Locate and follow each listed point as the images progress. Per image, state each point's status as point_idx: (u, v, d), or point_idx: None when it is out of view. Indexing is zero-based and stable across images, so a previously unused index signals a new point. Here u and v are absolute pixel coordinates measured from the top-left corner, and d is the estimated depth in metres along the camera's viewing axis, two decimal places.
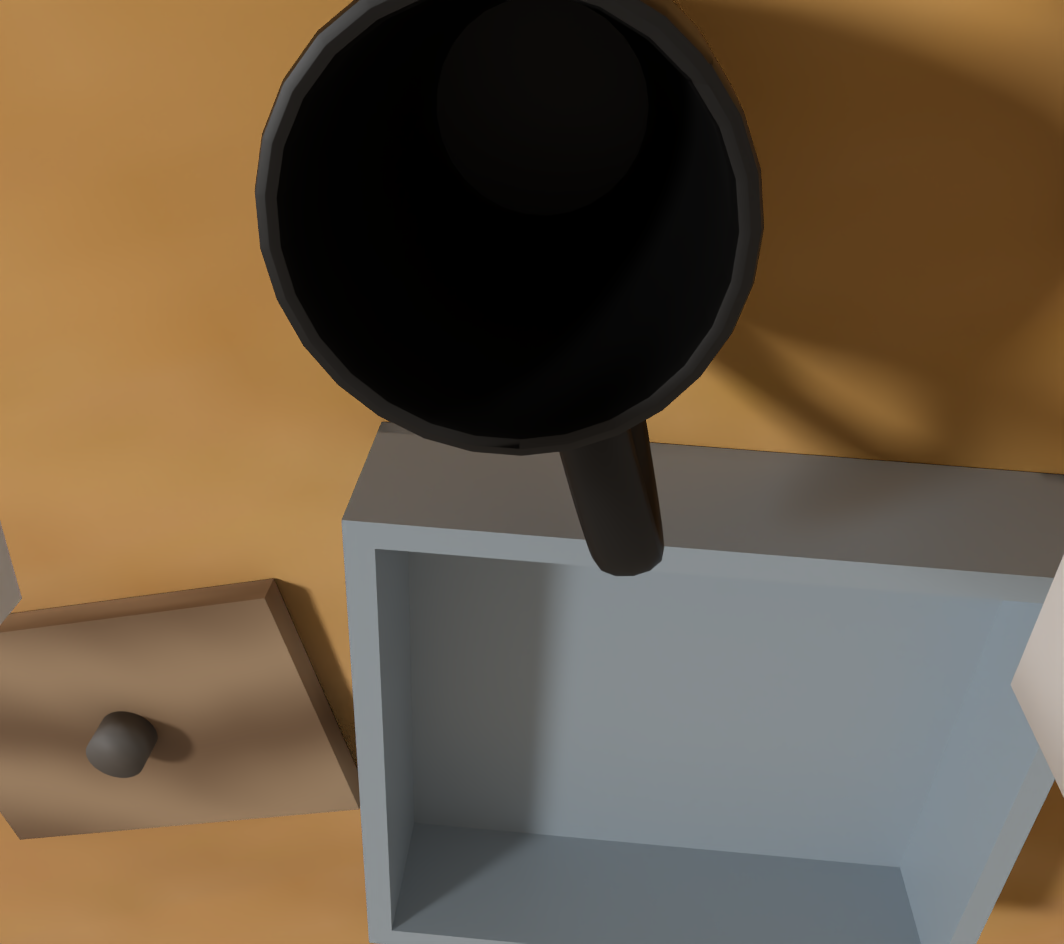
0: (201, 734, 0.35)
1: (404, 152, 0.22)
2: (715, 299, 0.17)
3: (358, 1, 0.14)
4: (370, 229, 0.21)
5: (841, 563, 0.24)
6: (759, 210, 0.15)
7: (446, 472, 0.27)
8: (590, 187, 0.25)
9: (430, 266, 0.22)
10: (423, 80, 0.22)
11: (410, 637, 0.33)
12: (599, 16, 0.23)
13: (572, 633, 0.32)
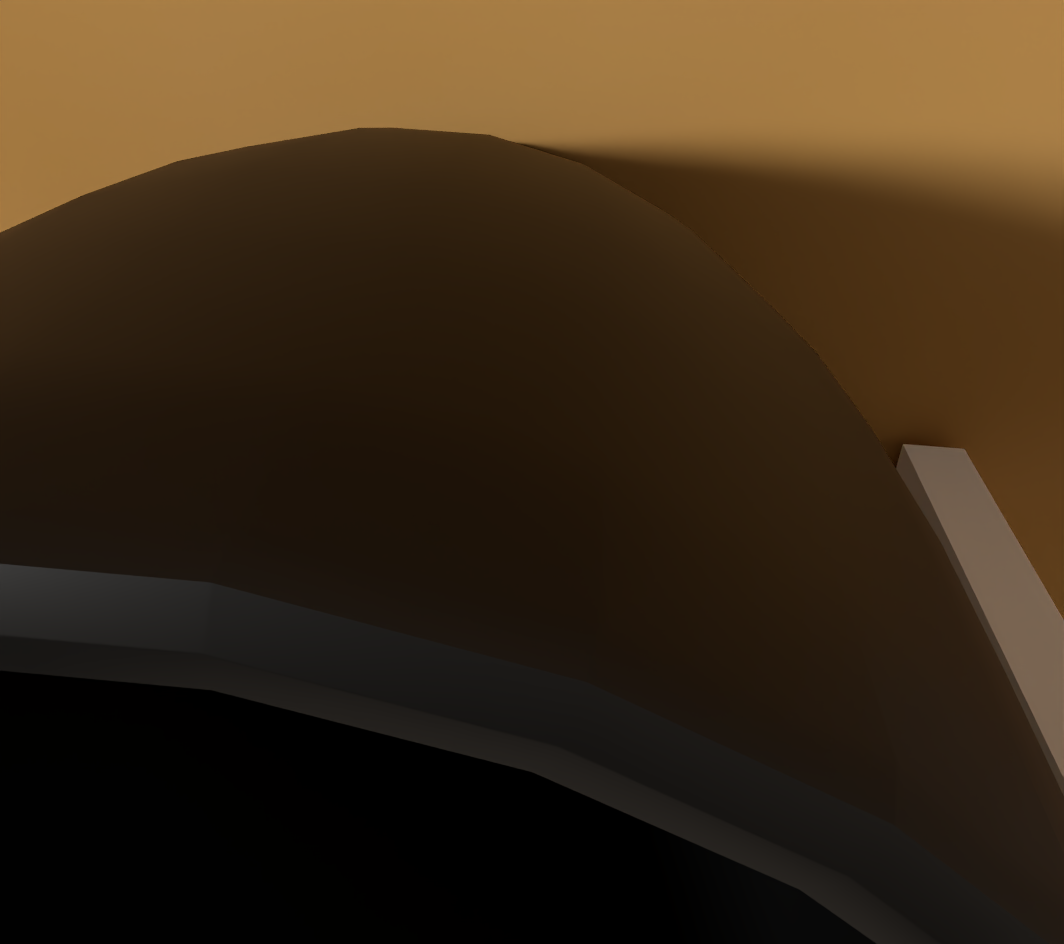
0: None
1: None
2: None
3: None
4: (58, 732, 0.09)
5: None
6: None
7: None
8: None
9: (226, 743, 0.10)
10: None
11: None
12: None
13: None
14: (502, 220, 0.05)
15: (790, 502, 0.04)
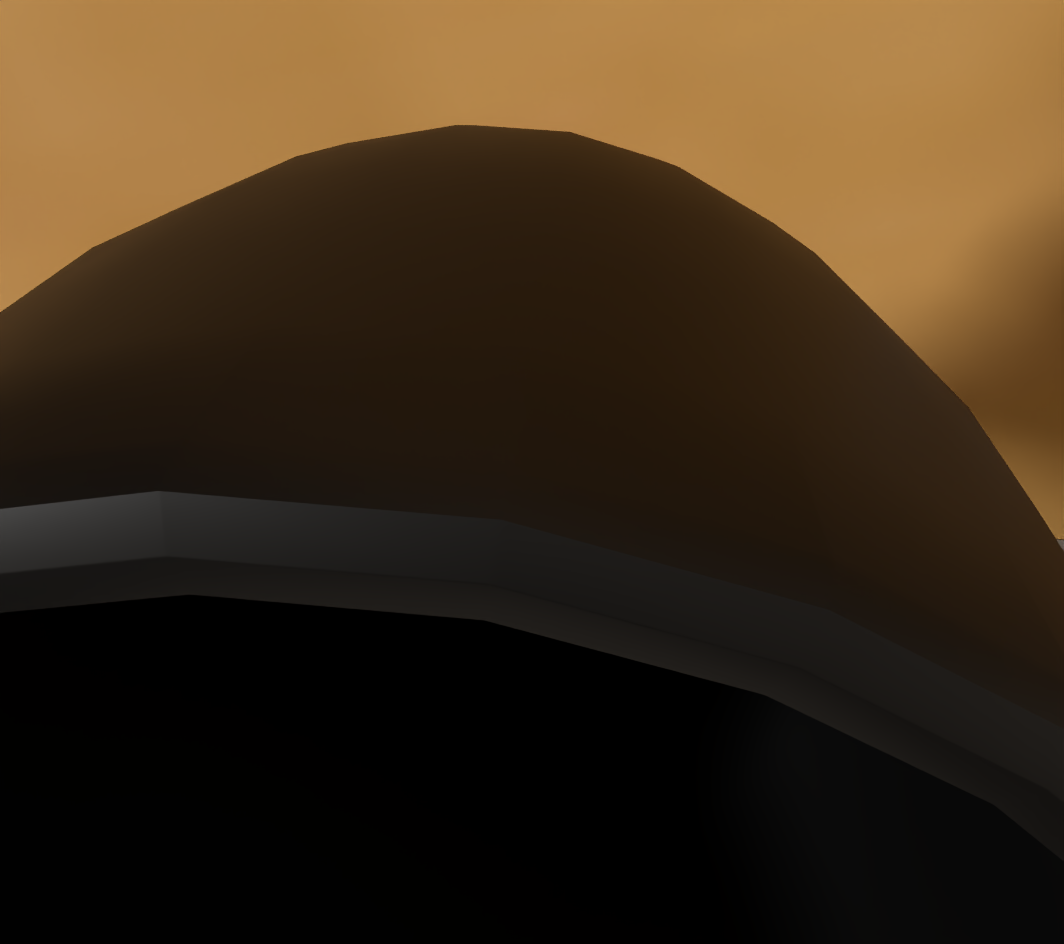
0: None
1: None
2: None
3: None
4: (145, 711, 0.09)
5: None
6: None
7: None
8: None
9: (298, 725, 0.11)
10: None
11: None
12: None
13: None
14: (636, 211, 0.05)
15: (943, 466, 0.04)
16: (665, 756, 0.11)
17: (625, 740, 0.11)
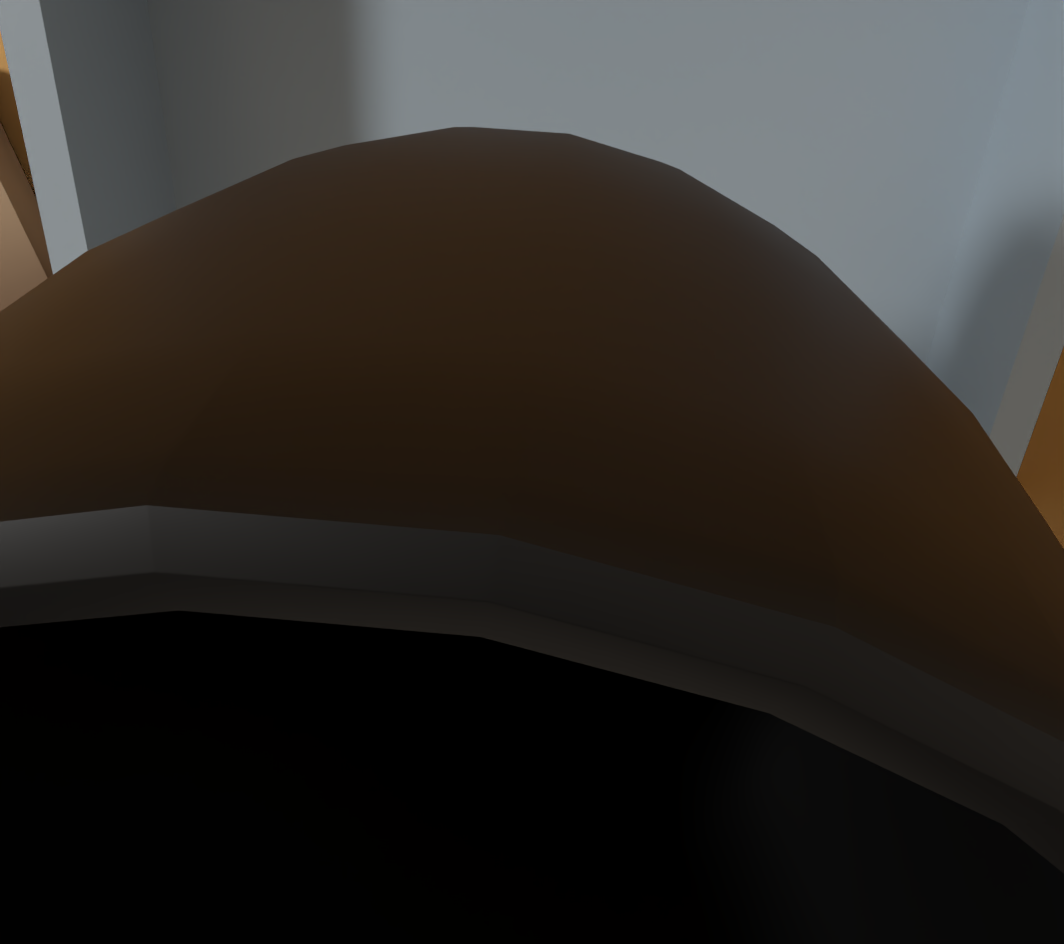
0: None
1: None
2: None
3: None
4: (142, 717, 0.09)
5: None
6: None
7: None
8: None
9: (295, 730, 0.11)
10: None
11: (169, 148, 0.23)
12: None
13: (396, 128, 0.22)
14: (636, 213, 0.05)
15: (947, 477, 0.04)
16: (665, 761, 0.11)
17: (625, 745, 0.11)
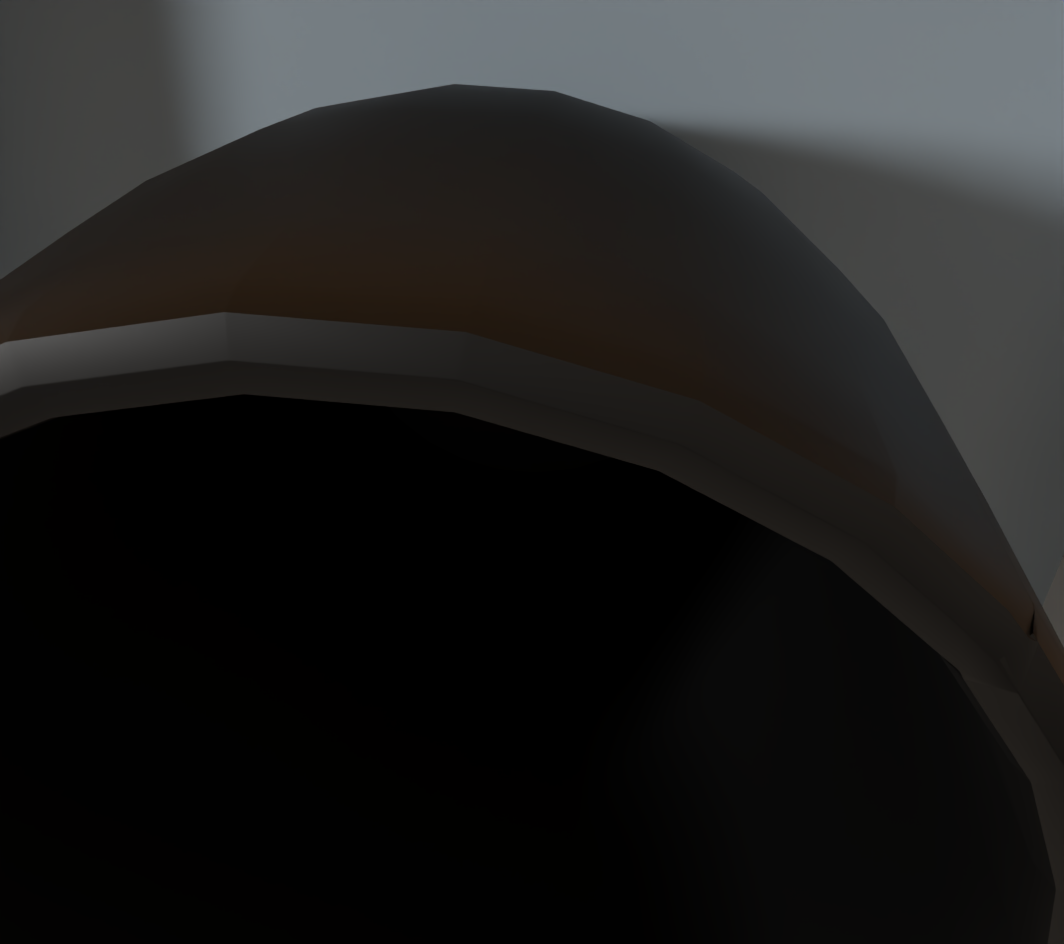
0: None
1: (272, 415, 0.12)
2: None
3: None
4: (179, 613, 0.11)
5: None
6: None
7: None
8: None
9: (314, 635, 0.12)
10: None
11: None
12: None
13: None
14: (597, 146, 0.06)
15: (824, 337, 0.05)
16: (646, 666, 0.12)
17: (610, 654, 0.12)
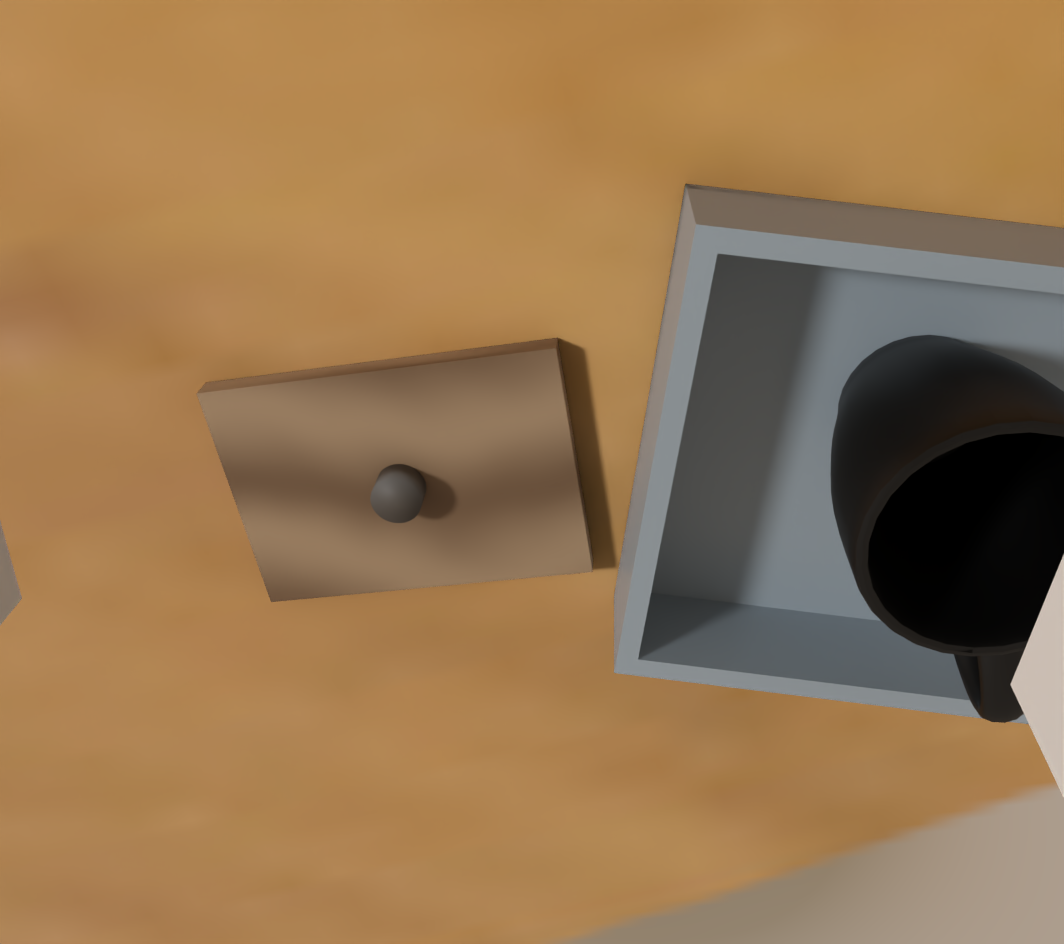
0: (466, 489, 0.40)
1: None
2: None
3: (959, 435, 0.27)
4: None
5: None
6: None
7: (759, 210, 0.32)
8: None
9: None
10: None
11: None
12: None
13: (816, 393, 0.37)
14: (1040, 382, 0.29)
15: None
16: (975, 529, 0.35)
17: (959, 526, 0.35)
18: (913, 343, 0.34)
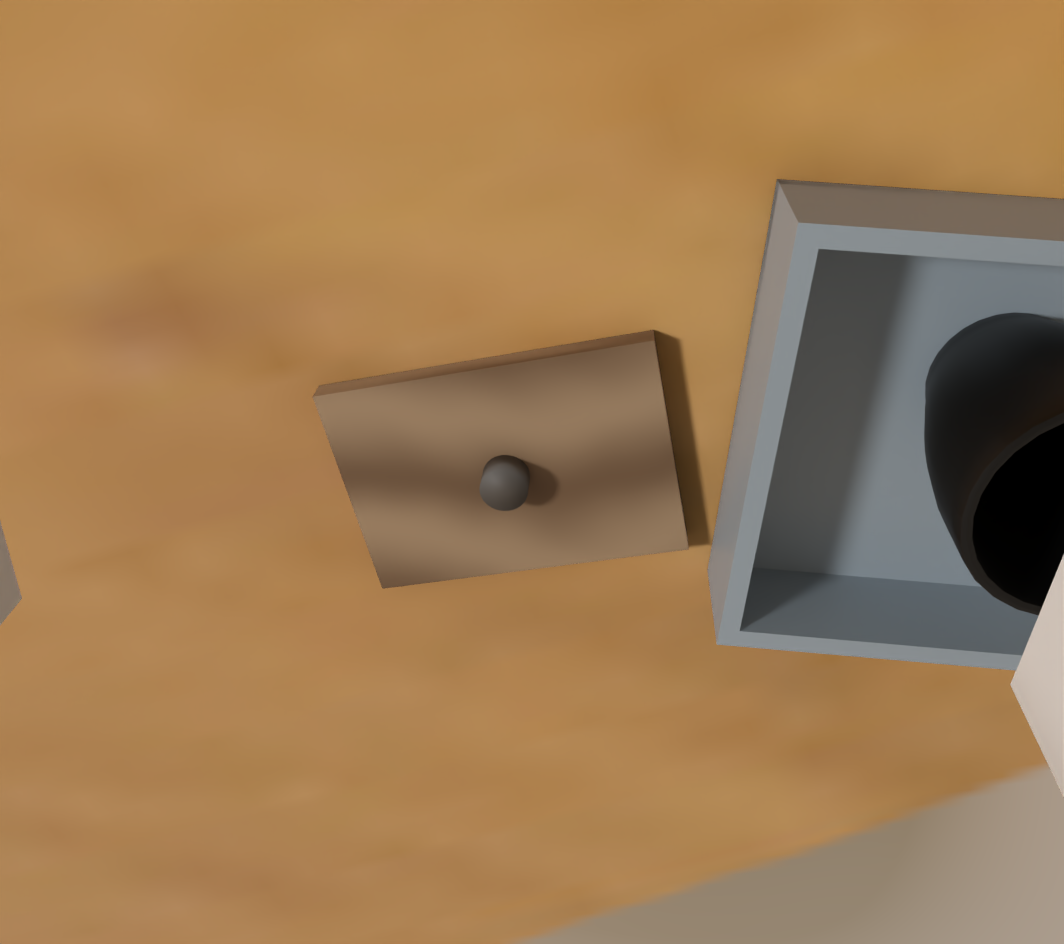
0: (568, 476, 0.42)
1: None
2: None
3: (1061, 413, 0.29)
4: None
5: None
6: None
7: (853, 203, 0.34)
8: None
9: None
10: None
11: None
12: None
13: (904, 372, 0.39)
14: None
15: None
16: None
17: (1048, 495, 0.37)
18: (1000, 322, 0.36)
